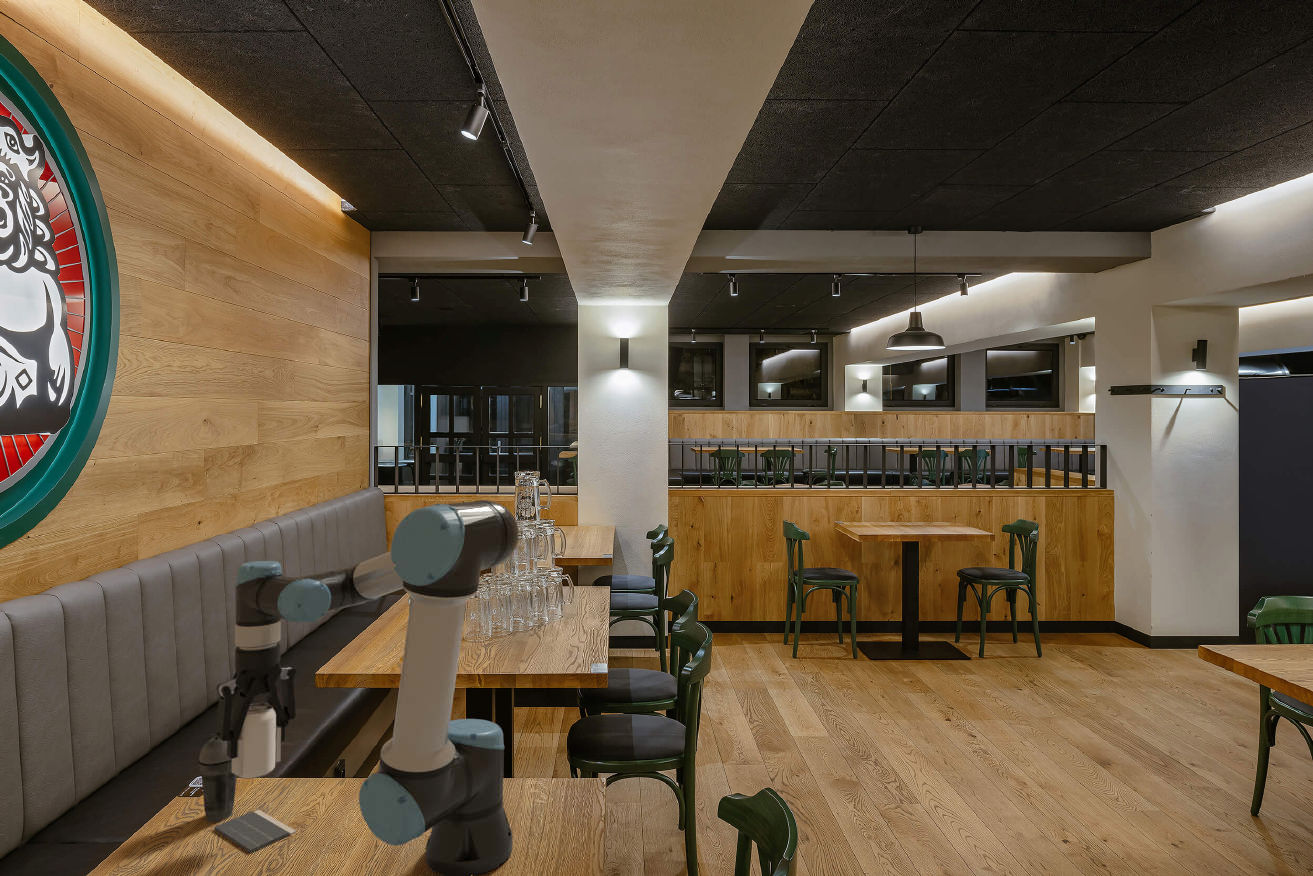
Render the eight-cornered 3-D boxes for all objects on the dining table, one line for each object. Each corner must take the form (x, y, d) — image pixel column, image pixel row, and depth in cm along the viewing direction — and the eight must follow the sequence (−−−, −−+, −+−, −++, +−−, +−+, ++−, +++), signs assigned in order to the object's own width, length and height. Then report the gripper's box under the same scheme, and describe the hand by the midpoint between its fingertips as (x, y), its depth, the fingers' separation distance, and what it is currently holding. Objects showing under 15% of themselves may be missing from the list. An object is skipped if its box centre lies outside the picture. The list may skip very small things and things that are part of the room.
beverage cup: (244, 804, 146) (245, 705, 146) (235, 822, 139) (236, 719, 139) (203, 809, 144) (204, 709, 144) (192, 828, 137) (193, 723, 137)
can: (257, 781, 132) (258, 716, 132) (227, 777, 133) (228, 712, 133) (283, 766, 138) (283, 703, 138) (253, 762, 139) (254, 700, 139)
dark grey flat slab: (295, 832, 135) (295, 829, 135) (250, 853, 129) (250, 850, 129) (259, 811, 143) (259, 808, 143) (214, 830, 136) (214, 826, 136)
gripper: (297, 630, 145) (295, 744, 145) (193, 653, 130) (191, 781, 130) (317, 636, 141) (316, 753, 141) (213, 660, 125) (211, 793, 125)
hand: (256, 766), depth 135 cm, fingers closed on can, 6 cm apart
